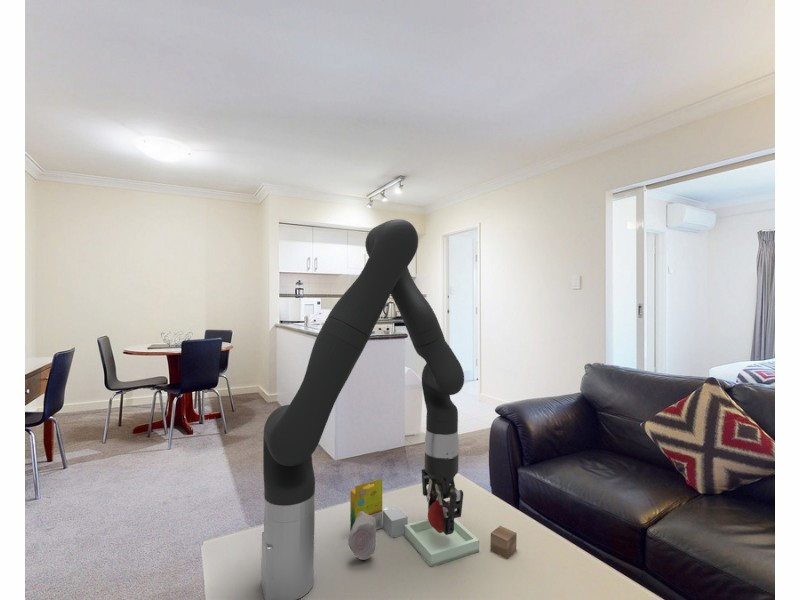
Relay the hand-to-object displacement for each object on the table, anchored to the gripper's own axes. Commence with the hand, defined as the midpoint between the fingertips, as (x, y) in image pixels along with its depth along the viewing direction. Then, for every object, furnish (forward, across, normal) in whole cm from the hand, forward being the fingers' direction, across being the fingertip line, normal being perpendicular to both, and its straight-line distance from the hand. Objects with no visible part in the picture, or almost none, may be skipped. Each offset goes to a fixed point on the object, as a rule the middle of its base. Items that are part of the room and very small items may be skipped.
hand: (440, 525), depth 89 cm
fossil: (+4, -2, -18) cm, 19 cm away
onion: (+2, 0, 0) cm, 2 cm away
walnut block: (+4, +8, +11) cm, 14 cm away
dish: (+4, 0, 0) cm, 4 cm away
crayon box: (+4, -12, -13) cm, 18 cm away
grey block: (+4, -9, -7) cm, 12 cm away
